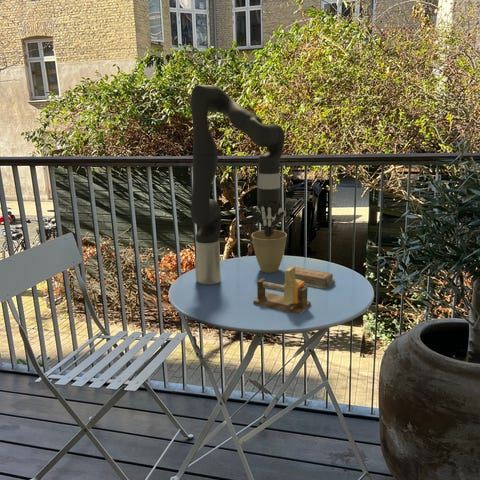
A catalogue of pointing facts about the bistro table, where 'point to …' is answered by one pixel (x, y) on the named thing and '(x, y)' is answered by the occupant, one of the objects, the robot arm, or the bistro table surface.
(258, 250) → the plant pot
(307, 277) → the packaged product
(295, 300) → the orange upright board
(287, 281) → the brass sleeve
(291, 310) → the pipe board
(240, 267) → the bistro table surface
